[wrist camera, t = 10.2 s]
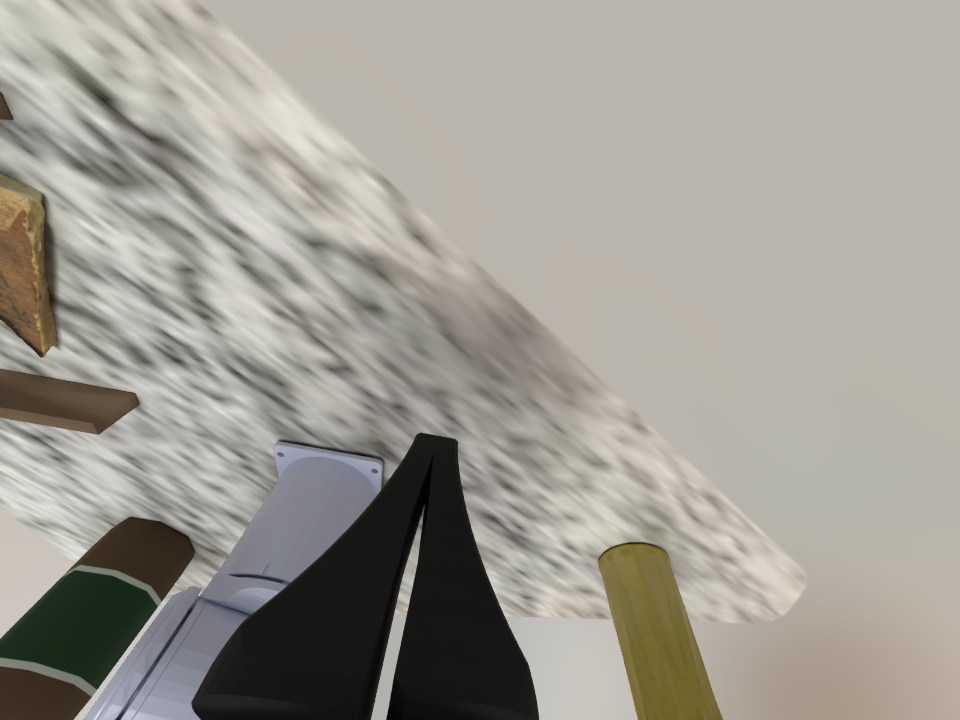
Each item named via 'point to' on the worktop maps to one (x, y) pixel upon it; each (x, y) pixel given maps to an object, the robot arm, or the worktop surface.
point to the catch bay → (60, 394)
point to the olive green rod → (656, 636)
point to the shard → (24, 266)
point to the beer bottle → (88, 621)
